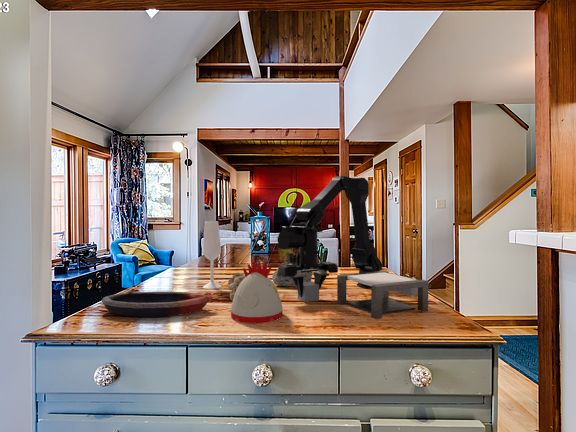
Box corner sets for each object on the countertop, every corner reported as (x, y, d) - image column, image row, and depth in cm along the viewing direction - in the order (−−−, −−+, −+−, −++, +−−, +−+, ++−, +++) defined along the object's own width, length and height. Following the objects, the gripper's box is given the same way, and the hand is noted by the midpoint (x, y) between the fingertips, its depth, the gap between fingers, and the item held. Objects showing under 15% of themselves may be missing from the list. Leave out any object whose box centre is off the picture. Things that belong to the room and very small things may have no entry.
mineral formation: (228, 303, 119) (220, 290, 133) (270, 307, 123) (258, 293, 137) (232, 277, 118) (224, 267, 132) (274, 282, 123) (262, 271, 137)
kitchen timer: (270, 326, 97) (270, 265, 97) (221, 320, 102) (221, 263, 101) (289, 311, 110) (289, 258, 110) (245, 307, 115) (245, 256, 114)
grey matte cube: (311, 296, 127) (311, 281, 127) (319, 300, 123) (319, 284, 123) (297, 298, 125) (297, 282, 125) (304, 302, 121) (304, 285, 120)
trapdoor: (394, 286, 126) (394, 271, 125) (427, 296, 113) (427, 278, 113) (347, 292, 118) (347, 275, 118) (376, 302, 105) (376, 284, 105)
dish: (117, 304, 119) (117, 288, 119) (217, 305, 118) (217, 289, 117) (89, 319, 104) (88, 300, 103) (203, 321, 102) (203, 301, 102)
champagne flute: (199, 286, 144) (198, 221, 143) (215, 284, 148) (214, 220, 147) (209, 289, 139) (208, 221, 138) (225, 286, 143) (224, 221, 142)
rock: (317, 282, 149) (312, 256, 149) (316, 286, 141) (311, 258, 141) (276, 288, 151) (272, 263, 151) (273, 293, 142) (268, 265, 143)
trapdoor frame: (384, 296, 127) (384, 270, 127) (428, 311, 110) (428, 281, 110) (337, 302, 120) (337, 275, 119) (375, 319, 102) (376, 286, 102)
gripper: (321, 243, 135) (321, 288, 135) (271, 245, 127) (271, 293, 127) (338, 246, 125) (338, 295, 125) (285, 249, 117) (285, 301, 117)
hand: (308, 296), depth 124 cm, fingers closed on grey matte cube, 5 cm apart
